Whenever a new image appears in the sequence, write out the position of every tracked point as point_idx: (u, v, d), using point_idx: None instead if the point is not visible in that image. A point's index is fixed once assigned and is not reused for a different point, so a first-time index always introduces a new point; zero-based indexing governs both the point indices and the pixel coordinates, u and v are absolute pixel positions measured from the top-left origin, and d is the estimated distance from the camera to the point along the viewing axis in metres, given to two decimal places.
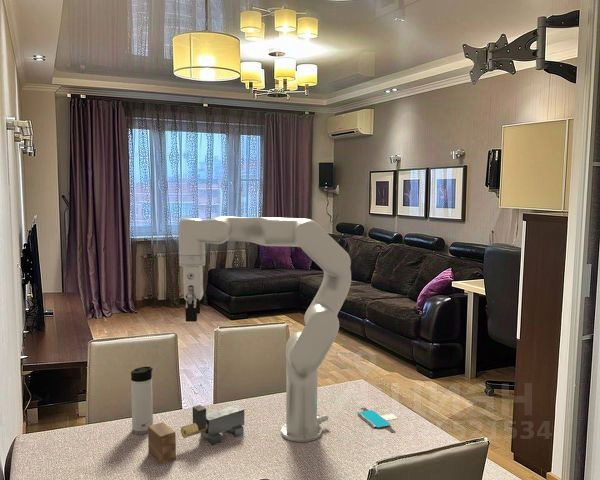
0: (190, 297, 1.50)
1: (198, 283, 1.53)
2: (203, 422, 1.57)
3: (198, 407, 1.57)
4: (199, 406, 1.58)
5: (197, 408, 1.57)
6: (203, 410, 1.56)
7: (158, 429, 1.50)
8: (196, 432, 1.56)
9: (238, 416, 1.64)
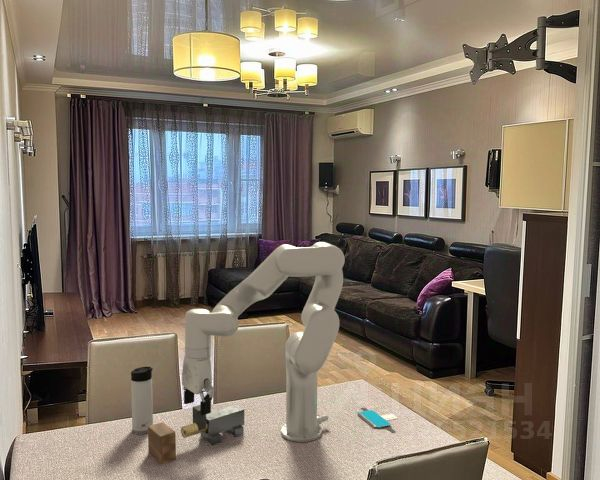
0: None
1: None
2: (203, 422, 1.57)
3: (198, 407, 1.57)
4: (199, 406, 1.58)
5: (197, 408, 1.57)
6: None
7: (158, 429, 1.50)
8: (196, 432, 1.56)
9: (238, 416, 1.64)
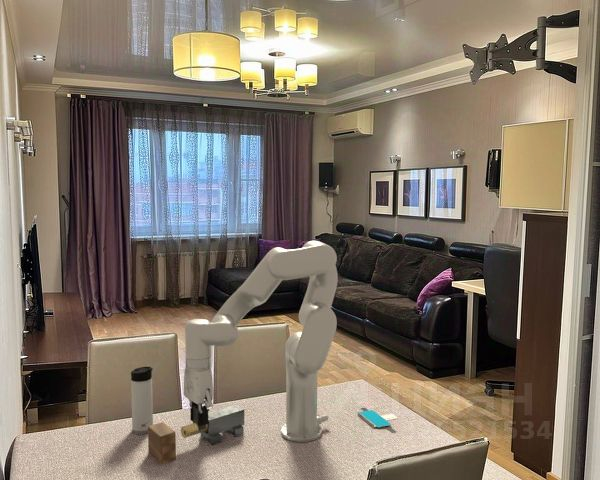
0: None
1: None
2: None
3: (198, 407, 1.57)
4: None
5: (196, 408, 1.57)
6: None
7: (158, 429, 1.50)
8: (196, 432, 1.56)
9: (238, 416, 1.64)
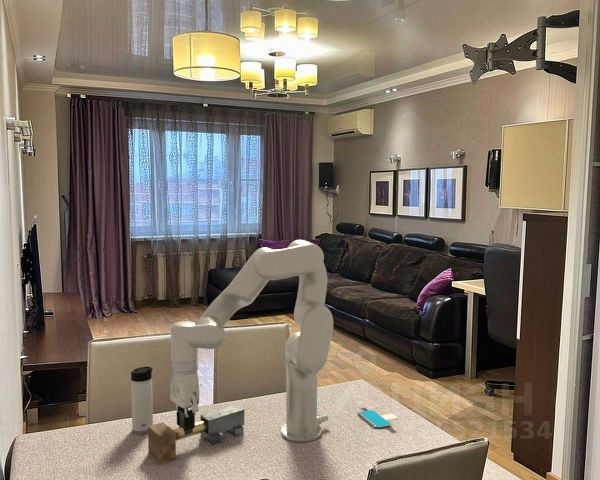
0: None
1: None
2: None
3: (184, 411, 1.55)
4: None
5: (183, 412, 1.54)
6: None
7: (158, 429, 1.50)
8: (182, 437, 1.53)
9: (238, 416, 1.64)
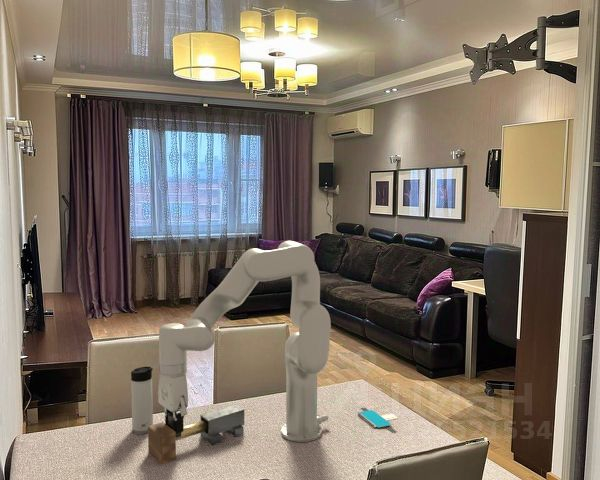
0: None
1: None
2: None
3: None
4: None
5: (171, 416, 1.51)
6: None
7: (158, 429, 1.50)
8: None
9: (238, 416, 1.64)
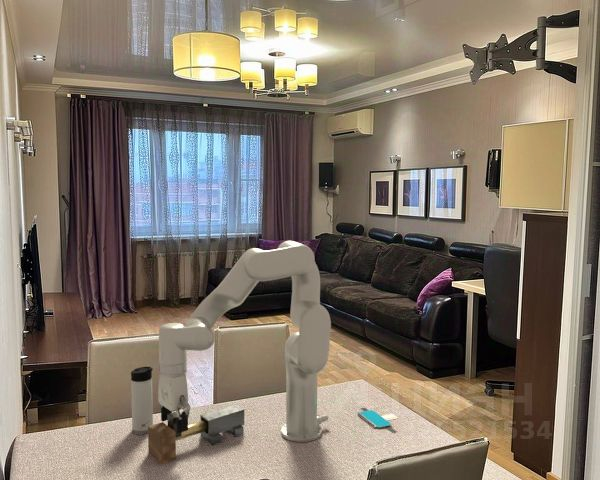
0: None
1: None
2: None
3: (173, 415, 1.52)
4: (174, 413, 1.53)
5: (171, 416, 1.52)
6: None
7: (158, 429, 1.50)
8: None
9: (238, 416, 1.64)
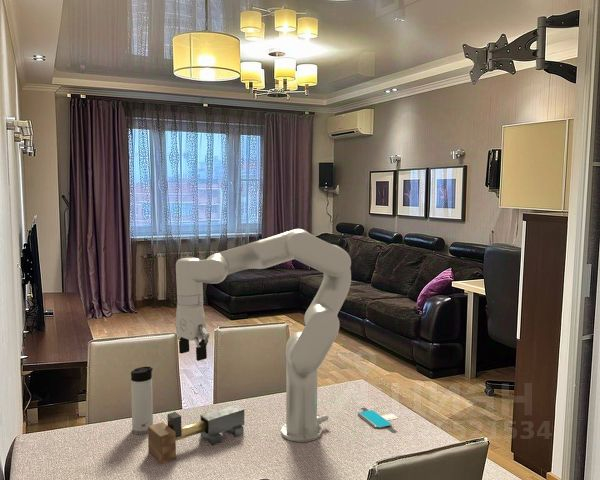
0: None
1: None
2: (178, 430, 1.51)
3: (173, 415, 1.52)
4: (174, 413, 1.53)
5: (171, 416, 1.52)
6: (178, 417, 1.51)
7: (158, 429, 1.50)
8: None
9: (238, 416, 1.64)
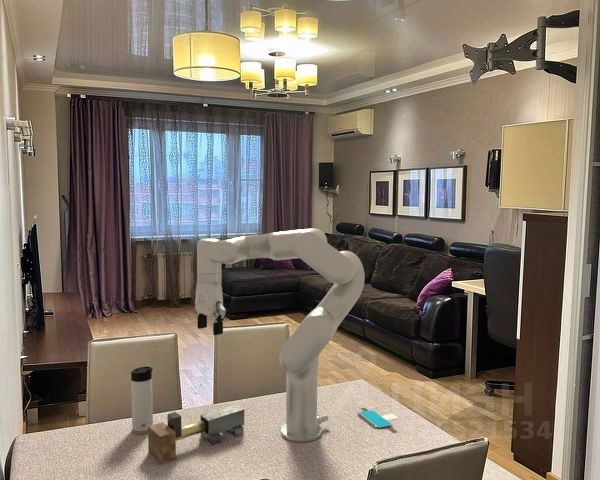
0: None
1: None
2: (178, 430, 1.51)
3: (173, 415, 1.52)
4: (174, 413, 1.53)
5: (171, 416, 1.52)
6: (178, 417, 1.51)
7: (158, 429, 1.50)
8: None
9: (238, 416, 1.64)
